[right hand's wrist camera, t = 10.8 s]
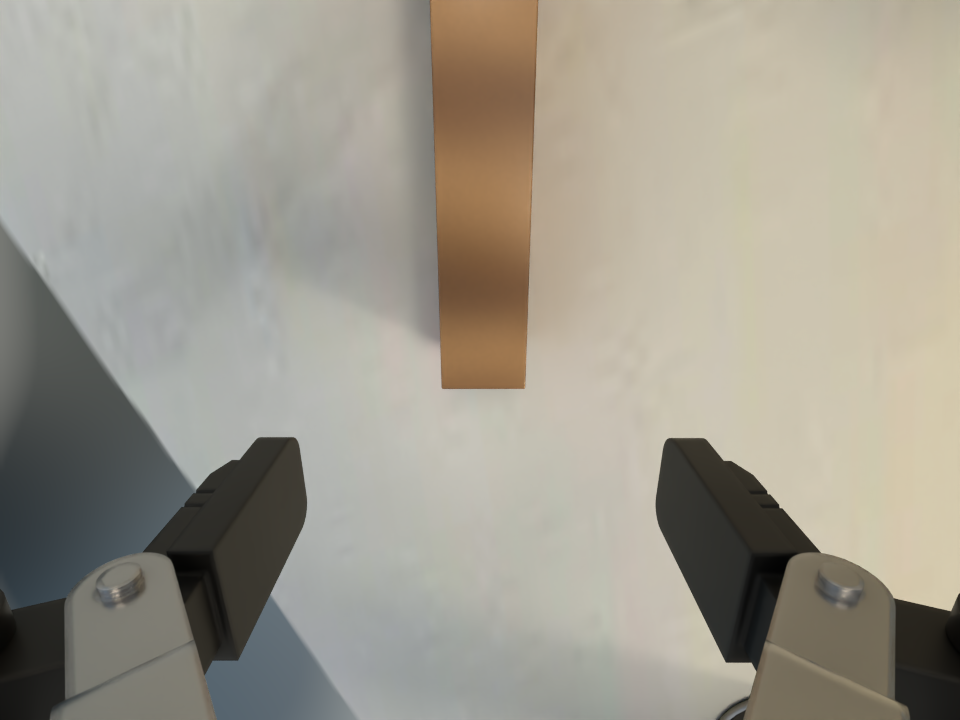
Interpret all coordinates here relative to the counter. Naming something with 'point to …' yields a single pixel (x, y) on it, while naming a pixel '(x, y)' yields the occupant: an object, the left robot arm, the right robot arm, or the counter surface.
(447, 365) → the bar
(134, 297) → the counter surface
